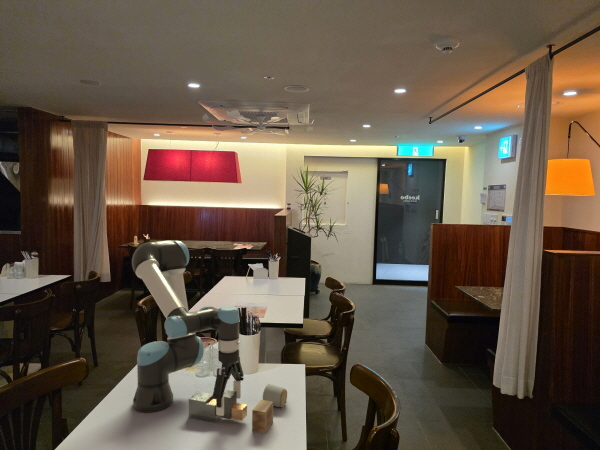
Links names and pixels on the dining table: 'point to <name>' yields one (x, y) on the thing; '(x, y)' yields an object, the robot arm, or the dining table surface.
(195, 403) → the sleeve
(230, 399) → the tan wooden post
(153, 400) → the robot arm
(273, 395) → the ceramic mug
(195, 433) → the dining table surface
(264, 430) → the socket
